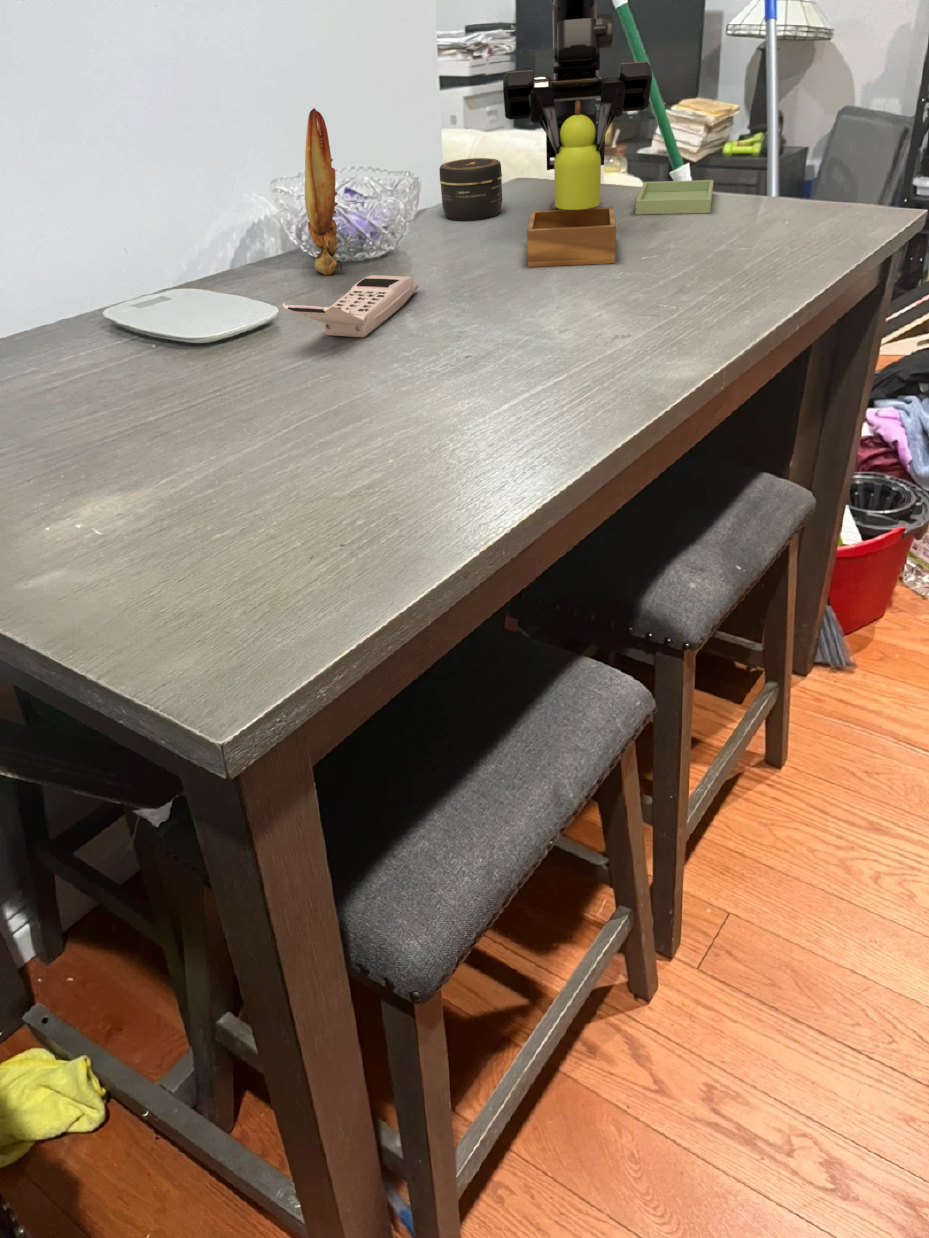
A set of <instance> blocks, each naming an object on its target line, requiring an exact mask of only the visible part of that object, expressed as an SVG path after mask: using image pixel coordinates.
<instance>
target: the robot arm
mask: <svg viewBox="0 0 929 1238" xmlns="http://www.w3.org/2000/svg"><path fill="white" fill-rule="evenodd" d="M549 2H550V3H551V4H552V5H553V7H552V51H553V53H552V55H553V57H552V59H553V79H551V78H550V77H549V76H535V72H534V71H535V70H534V69H527V70H514V71H507V72H506V73H505V74H504V76H503V78H502V91H503V102H504V103H503V105H504V116H505V118H506V119H507V120H510V121H511V120H523V119H530V121H531V123H534V124H536V123H537V124H539V126H540V128H542V130H543V131H544V132H545V146H546V147H545V148H546V149H545V150H546V171H551V170H554V163H555V157H556V154H559V153H560V147H561V146H562V145H561V142H560V130H561V127H562V125H563V123H564V122H565V121H566V120H567V119H568V118H569V117H571V116H573V115H575V102H576V101H580V103H581V115H585V116H587V117H588V118H589V119H590V120H591V121H592V122H593V124H594V126H595V130H596V137H595V141H594V144H595V146H596V151H599V153H600V157H601V166H604V165H605V152H606V151H605V150H606V135H607V132H608V130H609V128H610V126H611V125H612V123H613V121H614V120H615V118H620V117H622V115H623V113H624V112H638V111H644V110H646V109H648V107H649V102H650V97H651V96H650V95H651V89H652V82H653V68H652V66H651V64H650V63H649V62H648V61H646V60H645V61H633V62H621V63H619V70H618V77H604V78H603V77H601V76H599V71H600V70H601V49H610V48H612V46H613V40H614V39H613V38H614V20H613V13H606V14H597V0H549ZM595 99H600V101H599V110H598V119H597V106H596V100H595ZM553 158H554V159H553ZM550 210H562V209H559V208H556V207H555V203H553V205H552V206H551V207H550Z"/></svg>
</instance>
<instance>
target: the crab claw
mask: <svg viewBox="0 0 929 1238" xmlns="http://www.w3.org/2000/svg"><path fill="white" fill-rule="evenodd" d="M304 155H305V157H304V158H305V159H304V161H305V163H304V205H305V211H306V215H307V218H308V222H307V229H308V231H309V235H310V238H311V240H312V242H313V244H314V246H315V247H316V248H317V249H319V251H320V252H319V253H318V252H316V256H315V258H314V268H315V271H317V273H320V274H323V275H325V276H331V275H333V273H334V272H335V270H336V269H337V267H338V265H339V266H340V270H341V271H342V270H343V266H342V265H343V264H342V261H341V260H339V259H337V258H336V256H335V255H336V252H337V250H339V247H338V243H339V242H340V240H339V239H337V232H338V231H337V230H338V229H337V226H338V225H337V223H336V221H335V220H334V214H337V211H336V209H335V208H336V207H337V206H338V205H339V203H338V202H336V196H337V194H338V192H337V191H336V184H337V183H336V169H335V167H333V166H332V163H333V161H334V159H333V158H332V154H331V146H330V140H329V134H328V128H327V125H326V121H325V118H324V116H323V115H322V113H321V112H320V111H318V110H317V109H316V108H312V109H311V110H310V111H309V114H308V118H307V126H306V137H305V154H304Z"/></svg>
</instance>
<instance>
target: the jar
mask: <svg viewBox="0 0 929 1238" xmlns="http://www.w3.org/2000/svg"><path fill="white" fill-rule="evenodd" d="M502 178H503V173H502V164H501V161H500V160H499V159H496V158H489V157H487V158H486V157H474V158H473V157H472V158H463V159H456V160H455V159H454V160H451V161H447V162H444V163H442V164H441V165H440V166H439V183H440V193H441V203H442V209H443V212H444V214H445V216H446V217H447V218H448V219H449V220H453V221H462V222H464V221H465V222H466V221H467V222H469V221H480V220H486V219H487V220H488V219H490V218H494V217H496V216H498V215H499V213H500V212H501V211H502V205H503V183H502V182H503V179H502Z"/></svg>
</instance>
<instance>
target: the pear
mask: <svg viewBox="0 0 929 1238" xmlns="http://www.w3.org/2000/svg"><path fill="white" fill-rule="evenodd" d="M595 137H596V130H595V126H594V124H593V122H592V121H591V120H590V119H589V118H588V117H587V116H585V115H581V103H580V101H576V102H575V115H573V116H571V117H569V118H568V119H567V120H566V121H565V122H564V123H563V125H562V127H561V130H560V142H561V145H562V146H561V147H560V153H559V154H556V157H555V159H554V160H555V163H554V169H553V170H554V172H553V173H554V204H555V207H556V208H559V209H564V210H582V209H589V208H597V207H599V206H600V205H601V175H602V165H601V157H600V153H599V151H596V146H595V144H594V141H595Z"/></svg>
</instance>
